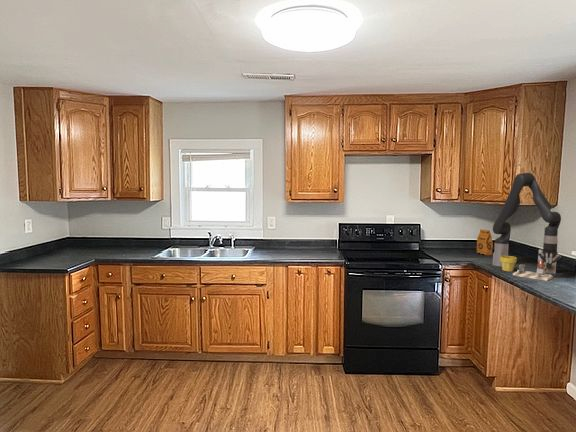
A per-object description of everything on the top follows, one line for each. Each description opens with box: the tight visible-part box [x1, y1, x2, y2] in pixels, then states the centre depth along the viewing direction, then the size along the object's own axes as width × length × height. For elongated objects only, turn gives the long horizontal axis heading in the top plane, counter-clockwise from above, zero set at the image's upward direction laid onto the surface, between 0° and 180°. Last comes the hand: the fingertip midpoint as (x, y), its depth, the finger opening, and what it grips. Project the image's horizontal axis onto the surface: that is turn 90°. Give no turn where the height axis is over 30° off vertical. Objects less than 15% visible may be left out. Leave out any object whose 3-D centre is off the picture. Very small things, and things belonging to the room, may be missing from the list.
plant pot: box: [500, 255, 518, 272], centre depth 277 cm, size 10×10×10 cm
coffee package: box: [476, 229, 494, 256], centre depth 343 cm, size 10×12×22 cm
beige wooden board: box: [512, 263, 554, 282], centre depth 258 cm, size 20×12×6 cm, turn 41°
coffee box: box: [536, 248, 557, 274], centre depth 271 cm, size 9×6×16 cm
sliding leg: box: [536, 261, 546, 276], centre depth 256 cm, size 4×8×9 cm, turn 131°
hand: (548, 268), depth 254 cm, fingers closed
